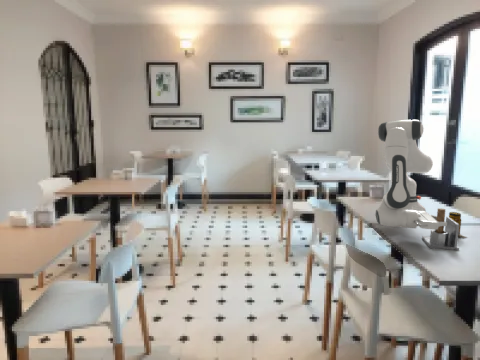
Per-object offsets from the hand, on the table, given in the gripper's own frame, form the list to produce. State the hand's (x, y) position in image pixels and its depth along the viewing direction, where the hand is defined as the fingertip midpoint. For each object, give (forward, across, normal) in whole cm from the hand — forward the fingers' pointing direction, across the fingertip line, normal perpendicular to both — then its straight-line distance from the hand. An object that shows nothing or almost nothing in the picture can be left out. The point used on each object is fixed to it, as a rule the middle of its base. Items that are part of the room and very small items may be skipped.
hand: (443, 221), depth 169 cm
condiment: (+12, +16, +12) cm, 23 cm away
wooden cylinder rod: (-1, 0, +10) cm, 10 cm away
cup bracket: (-1, 0, +12) cm, 12 cm away
